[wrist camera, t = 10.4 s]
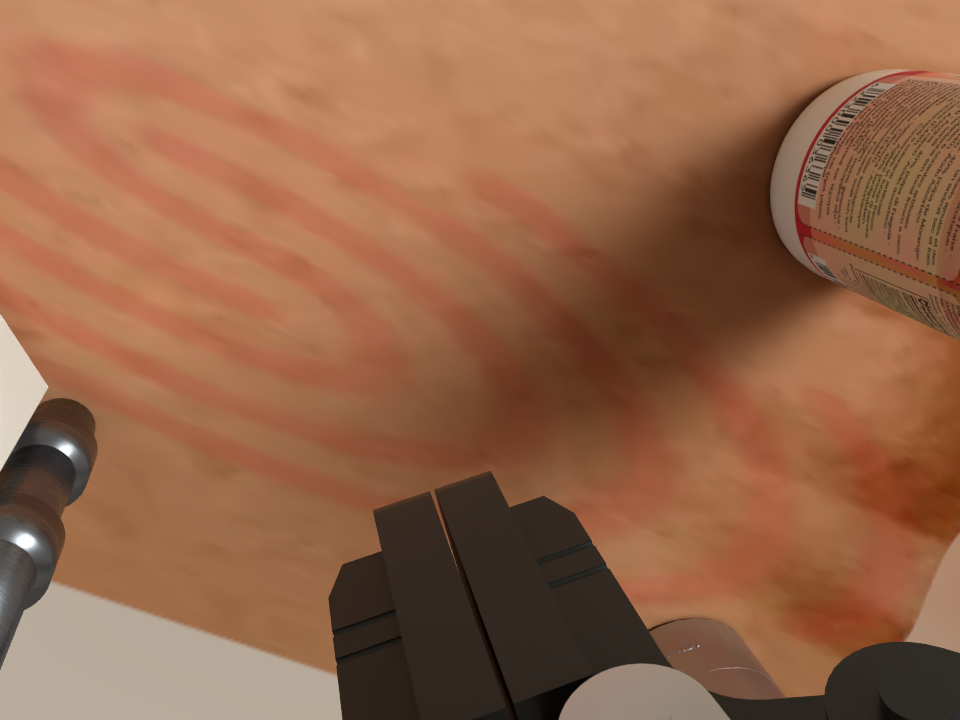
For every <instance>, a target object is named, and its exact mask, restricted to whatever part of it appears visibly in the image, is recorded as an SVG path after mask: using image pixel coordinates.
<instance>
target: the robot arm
mask: <svg viewBox="0 0 960 720" xmlns="http://www.w3.org/2000/svg"><path fill="white" fill-rule="evenodd" d="M435 494H436V498H437V501H438V505H439V508H440V511H441V515H442V518H443V521H444V525H445V528H446V531H447V535H448V538H449V541H450V545H451V548H452V551H453V555H454V558H455V561H456V564H455V561H454V558H453V555H452V553H451V550H450V547H449V544H448V541H447V539H446V536H445V533H444V530H443V527H442V524H441V522H440V519H439V516H438V513H437V510H436V508H435V505H434V502H433V499H432V496H431V494H430V491H429V492H426V493H423V494H420V495H417V496H414V497H411V498H408V499H405V500H402V501H399V502H396V503H393V504H390V505H387V506H384V507H381V508H378V509H375V510H373V513H374V518H375V522H376V526H377V531H378V535H379V540H380V544H381V549H382V551H381V552H378V553H375V554H372V555H369V556H366V557H363V558H360V559H357V560H355V561H352V562H349V563H346V564H343V565H342V567H341V569H340V572H339V574H338V577H337V579H336V581H335V584H334V586H333V589H332V591H331V593H330V596H329V607H330V615H331V624H332V632H333V635H334V638H333V641H334V650H335V659H336V662H337V666H336V667H337V676H338V684H339V692H340V702H341V710H342V719H343V720H960V653H958V652H954V651H951V650H947V649H944V648H940V647H936V646H931V645H927V644H921V643H913V642H889V643H881V644H876V645H872V646H868V647H865V648H863V649H860V650H858V651H856V652H854V653H852V654H850V655H849V656H847V657H846V658H844V659H843V660H842V661H841V662H840V663H839V664H838V665H837V666H836V667H835V668H834V670H833V671H832V673H831V675H830V676H829V678H828V681H827V684H826V687H825V695H820V696H806V697H793V698H787V697H786V696H785V694H784V693H783V692H782V690H781V689H780V687H779V686H778V685H777V683H776V682H775V681H774V680H773V678H772V677H771V676H770V674H769V673H768V672H767V671H766V669H765V668H764V667H763V665H762V664H761V663H760V661H759V660H758V659H757V658H756V656H755V655H754V654H753V652H752V651H751V650H750V648H749V647H748V646H747V645H746V643H745V642H744V641H743V639H742V638H741V637H740V636H739V635H738V634H737V633H736V632H735V631H734V630H733V629H732V628H730V627H728V626H726V625H725V624H723V623H720V622H717V621H713V620H710V619H696V618H693V619H685V620H678V621H675V622H671V623H668V624H665V625H662V626H660V627H658V628H656V629H654V630H652V631H650V632H649V631H648V629H647V628H646V626H645V625H644V623H643V621H642V620H641V618H640V617H639V615H638V614H637V612H636V610H635V609H634V607H633V606H632V604H631V602H630V601H629V599H628V598H627V596H626V594H625V593H624V591H623V590H622V588H621V587H620V585H619V583H618V582H617V580H616V579H615V577H614V575H613V574H612V572H611V571H610V569H608V568H607V566H606V563H605V561H604V560H603V558H602V556H601V555H600V553H599V552H598V550H597V548H596V547H595V546H593V544H592V541H591V539H590V537H589V536H588V534H587V533H586V531H585V529H584V528H583V526H582V525H581V523H580V521H579V520H578V518H577V517H576V515H575V513H573V512H571V511H569V510H568V509H566V508H564V507H562V506H561V505H559V504H557V503H555V502H554V501H552V500H550V499H548V498H547V497H545V496H542V497H539V498H536V499H533V500H530V501H528V502H525V503H522V504H519V505H516V506H513V507H510V508H509V506H508V504H507V502H506V500H505V498H504V496H503V494H502V492H501V490H500V488H499V486H498V484H497V482H496V480H495V478H494V476H493V475H492V473H491V472H490V471H489V472H486V473H483V474H480V475H477V476H474V477H471V478H468V479H465V480H462V481H459V482H456V483H453V484H449V485H446V486H443V487H440V488H437V489H435ZM456 565H457V567H456ZM457 568H458V570H457ZM458 571H459V572H458Z"/></svg>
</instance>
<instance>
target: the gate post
mask: <svg viewBox="0 0 960 720" xmlns="http://www.w3.org/2000/svg"><path fill="white" fill-rule="evenodd" d="M94 433H95V420H94V418H93V415H92V414H91V412H90V411H89V410H88V409H87V408H86V407H85V406H84V405H82V404H80V403H79V402H76V401H74V400H70V399H64V398H59V399H52V400H49V401H46V402H44V403H43V404H41V405H40V406H39V407H37V409H36V410H35V411H34V413H33V415H32V417H31V418H30V420H29V422H28V424H27V425H26V427H25V429H24V431H23V432H22V434H21V436H20V438H19V440H18V441H17V443H16V445H15V447H14V448H13V450H12V452H11V454H10V455H9V457H8V459H7V461H6V462H5V464H4V466H3V468H2V469H1V471H0V669H1V666H2V664H3V662H4V659H5V657H6V654H7V652H8V649H9V647H10V644H11V641H12V639H13V636H14V634H15V631H16V629H17V626H18V624H19V621H20V619H21V616H22V614H23V611H24V610H25V609H27V608H29V607H31V606H32V605H34V604H35V603H36V602H37V601H38V600H40V599H41V597H42V596H43V595H44V594H45V592H46V590H47V589H48V586H49V584H50V581H51V579H52V576H53V573H54V571H55V568H56V565H57V563H58V560H59V557H60V554H61V552H62V549H63V546H64V542H65V529H64V526H63V523H62V521H61V519H60V518H61V516H62V513H63V511H64V508H65V507H66V506H68V505H70V504H71V503H73V502H74V501H75V500H76V499H78V498H79V496H80V495H81V494H82V493H83V491H84V489H85V487H86V484H87V482H88V479H89V476H90V474H91V471H92V468H93V466H94V463H95V460H96V457H97V442H96V439H95V436H94Z"/></svg>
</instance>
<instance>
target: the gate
mask: <svg viewBox="0 0 960 720" xmlns="http://www.w3.org/2000/svg"><path fill="white" fill-rule="evenodd" d="M47 389H48V386H47V384H46V383H45V381H44V380H43V378H42V377H41V375H40V374H39V372H38V371H37V369H36V368H35V366H34V365H33V363H32V361H31V360H30V358H29V357H28V355H27V354H26V352H25V351H24V349H23V348H22V346H21V345H20V343H19V342H18V340H17V339H16V337H15V336H14V334H13V333H12V331H11V330H10V328H9V327H8V325H7V324H6V322H5V321H4V319H3V318H2V316H1V315H0V471H1V469H2V468H3V466H4V464H5V462H6V461H7V459H8V457H9V455H10V454H11V452H12V450H13V448H14V447H15V445H16V443H17V441H18V440H19V438H20V436H21V434H22V432H23V431H24V429H25V427H26V425H27V424H28V422H29V420H30V418H31V417H32V415H33V413H34V411H35V410H36V408H37V406H38V404H39V403H40V401H41V399H42V397H43V396H44V394H45V392H46V390H47Z"/></svg>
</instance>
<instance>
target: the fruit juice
mask: <svg viewBox="0 0 960 720" xmlns="http://www.w3.org/2000/svg"><path fill="white" fill-rule="evenodd" d="M770 204H771V212H772V217H773V221H774V224H775V227H776V230H777V232H778V235H779V237H780V238H781V240H782V242H783V244H784V245H785V246H786V248H787V249H788V250H789V252H790V253H791V254H792V255H793V256H794V257H795V258H796V259H797V260H798V261H799V262H800V263H802V264H803V265H804V266H806V267H807V268H808V269H810V270H811V271H813V272H814V273H816V274H818V275H820V276H822V277H824V278H826V279H828V280H830V281H833V282H835V283H837V284H839V285H841V286H843V287H845V288H848V289H850V290H852V291H854V292H856V293H858V294H860V295H863V296H865V297H867V298H869V299H871V300H873V301H875V302H878V303H880V304H882V305H884V306H886V307H888V308H890V309H893V310H895V311H897V312H899V313H901V314H903V315H906V316H908V317H910V318H912V319H914V320H916V321H918V322H921V323H923V324H925V325H927V326H929V327H931V328H933V329H936V330H938V331H940V332H942V333H944V334H946V335H949V336H951V337H953V338H955V339H957V340H959V341H960V74H950V73H938V72H926V71H914V70H902V69H889V70H879V71H871V72H866V73H862V74H859V75H856V76H853V77H851V78H848V79H846V80H843V81H841V82H839V83H837V84H836V85H834V86H832V87H831V88H829V89H828V90H826V91H825V92H823V93H822V94H821V95H819V96H818V97H817V98H816V99H815V100H814V101H812V102H811V103H810V104H809V105H808V106H807V107H806V108H805V110H804V111H803V112H802V113H801V114H800V115H799V117H798V118H797V119H796V121H795V122H794V123H793V125H792V126H791V128H790V130H789V131H788V133H787V135H786V136H785V138H784V140H783V142H782V145H781V147H780V149H779V152H778V154H777V157H776V160H775V164H774V168H773V172H772V178H771V186H770Z"/></svg>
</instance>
